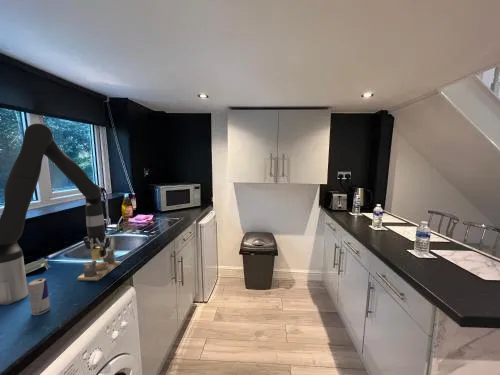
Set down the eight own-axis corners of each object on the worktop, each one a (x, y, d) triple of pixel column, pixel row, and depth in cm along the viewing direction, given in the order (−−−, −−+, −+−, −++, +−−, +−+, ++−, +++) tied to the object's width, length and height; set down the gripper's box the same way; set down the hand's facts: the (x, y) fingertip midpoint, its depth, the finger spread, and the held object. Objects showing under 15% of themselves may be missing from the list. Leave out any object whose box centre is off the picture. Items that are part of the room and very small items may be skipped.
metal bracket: (48, 254, 133) (42, 263, 120) (53, 262, 134) (47, 273, 121) (16, 266, 127) (5, 278, 114) (22, 276, 128) (12, 288, 115)
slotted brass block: (98, 255, 124) (97, 246, 123) (106, 255, 124) (105, 246, 123) (92, 259, 119) (90, 250, 118) (99, 259, 119) (98, 250, 118)
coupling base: (98, 280, 113) (96, 263, 112) (77, 280, 113) (75, 263, 112) (120, 263, 131) (119, 248, 130) (102, 263, 131) (101, 248, 130)
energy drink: (54, 306, 93) (50, 277, 92) (42, 315, 88) (38, 284, 86) (39, 307, 93) (35, 278, 92) (27, 316, 88) (23, 285, 86)
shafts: (89, 268, 113) (88, 261, 113) (85, 268, 113) (84, 261, 113) (112, 254, 130) (111, 247, 130) (108, 254, 130) (108, 247, 130)
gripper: (76, 226, 116) (80, 259, 118) (104, 225, 115) (108, 259, 117) (87, 221, 123) (90, 253, 125) (114, 221, 123) (117, 253, 125)
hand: (99, 256), depth 121 cm, fingers closed on slotted brass block, 4 cm apart
